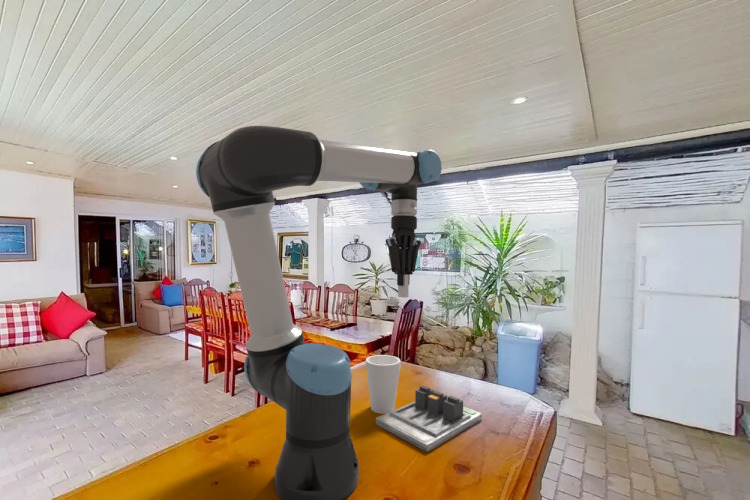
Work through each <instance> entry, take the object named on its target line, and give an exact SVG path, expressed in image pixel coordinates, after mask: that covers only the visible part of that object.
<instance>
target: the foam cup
mask: <svg viewBox="0 0 750 500" xmlns="http://www.w3.org/2000/svg"><path fill="white" fill-rule="evenodd" d="M401 364H402V362H401V358H399V357H397V356H393V355H388V354H378V355H372V356H368V357H366V359H365V371H366V377H367V385H368V387H367V388H368V395H369V403H370V404H369V405H370V410H371V411H372V412H374V413H377V414H382V415H384V414H387V413H389V412H390V411H393V410H395V405H396V399H397V392H398V391H397V390H398V385H399V379H400V378H399V377H400V372H401V368H402V367H401V366H402V365H401Z"/></svg>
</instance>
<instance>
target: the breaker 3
mask: <svg viewBox="0 0 750 500" xmlns="http://www.w3.org/2000/svg"><path fill="white" fill-rule="evenodd" d="M463 407H464V400H462V399H459V398H458V397H456V396H453V395H449V396H448V395H447V400H445V401H444V402H443V418H445V419H447V420H450V421H452V422H453V421H455V420H457V419H459V418H461V417H463Z"/></svg>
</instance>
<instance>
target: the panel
mask: <svg viewBox="0 0 750 500" xmlns="http://www.w3.org/2000/svg"><path fill="white" fill-rule="evenodd" d="M481 421H483V414H482V412H479V411H476V410H475V409H471V408H469V407H465V406H463V417H461V418H459V419H457V420H455V421H453V422H452V421H450V420H447V419H445V418H443V413H441V414H439V415H437V416H436V415H434V414H431V413H429V412H428V407H427V408H424V409H422V408H419V407H417V406H415V401H412V402H410V403H408V404H405V405H403V406H401V407H398V408H396V409H394V410H393V411H390V412H389V413H385V414H382V415H379V416H377V417H375V425H376V426H378V427H380V428H382V429H384V430H385V431H387V432H389V433H391V434H392V435H395V436H396V437H399V438H400V439H401V440H403V441H406V442H407V443H409V444H411V445H413V446H414V447H417V448H419V449H421V450H423V451H424V452H427V453H429V452H430V451H432V450H434V449H435V448H437V447H439V446H440V445H442V444H444V443H445V442H447V441H449V440H450V439H452V438H454V437H455V436H458V434H461V433H462V432H463V431H465V430H467V429H469V428H470V427H472V426H473V425H475V424H478V422H481Z"/></svg>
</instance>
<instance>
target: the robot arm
mask: <svg viewBox="0 0 750 500" xmlns="http://www.w3.org/2000/svg"><path fill="white" fill-rule="evenodd" d="M442 168H443V167H442V161H441V158H440V155H439V154H438V153H437V152H436V151H435V150H432V149H427V150H420V151H418V152H412V151H403V150H395V149H387V148H380V147H376V146H367V145H360V144H353V143H346V142H340V141H339V142H338V141H332V140H326V139H325V140H324V139H320V138H319V137H318V136H317V134H315V133H314V132H311V131H305V130H300V129H293V128H291V129H290V128H287V127H278V126H267V125H249V126H244V127H239V128H238V129H235V130H233V131H231V133H229V134H227V136H225V137H223V138H221V139H220V140H218V141H215V142H213V143H212V144H210V145H209V146H207V148H206V149H204V151H203V152H202V154H201V155H200V157H199V159H198V160H197V164H196V169H195V171H196V172H195V176H196V181H197V183H198V186H199V187H200V188H199V189H201V191H202V192H203V193H204V195H206V196H207V197H208V198H209V201H210V204H211V208H212V213H213V215H215V216H217V218H219V219H221V220H222V221H223V222H224V226H225V230H226V234H227V238H228V242H229V247H230V251H231V255H232V259H233V263H234V267H235V272H236V275H237V281H238V285H239V289H240V294H241V297H242V301H243V305H244V309H245V313H246V317H247V322H248V327H249V330H250V337H249V339H248V340H247V342H246V343H245V348H246V351H247V355H246V357H245V359H244V365H243V366H244V367H243V369H244V376H245V378H246V380H247V382H248V383H249V385H250V386H251V387H252V389H253V390H255V392H257V393H258V394H260V395H261V396H264V397H266V398H267V399H268V400H270V401H272V402H273V403H274V404H276V405H278V406H280V407H281V408H282V409H284V410H285V412H286V413H285V440H284V442H283V445H282V449H281V452H280V454H279V458H278V462H277V464H276V467H275V472H274V488H275V489H274V490H275V492H276V494H277V496H278V497H279V498H280V499H281V500H345V498H347V497H349V495H350V494H352V492H354V490H355V489H356V487H357V485H358V483H359V476H360V473H359V472H360V471H359V469H360V466H359V460H358V457H357V454H356V450H355V448H354V444H353V440H352V438H351V425H350V424H351V400H352V397H351V395H352V378H353V377H352V371H351V370H352V369H351V359H350V358H349V355H348V354H347V353H346V352H345V351H344V350H343V349H341V348H339V347H337V346H334V345H332V344H331V345H330V344H323V343H320V342H319V343H318V342H317V343H316V342H315V343H314V342H312V343H306V342H305V338H304V333H303V330H302V328H301V327H300V326H298V325H296V324H294V322H293V317H292V312H291V308H290V304H289V303H290V302H289V300H288V299H289V298H288V295H287V290H286V286H285V285H286V284H285V282H284V281H285V280H284V276H283V271H282V267H281V266H282V265H281V262H280V258H279V253H278V249H277V243H276V239H275V235H274V230H273V224H272V221H271V216H270V213H271V211H272V209H273V207H274V206H275V205H276V203H275V202H276V201H275V198H274V193H273V192H275V191H277V190H278V191H279V190H283V189H287V188H292V187H311V186H314V185H315V184H316V183H317V182H337V183H338V182H339V183H341V182H346V183H359V184H360V186H362V187H363V188H364V189H367V190H370V191H376V192H381V193H388V194H390V195H391V199H390V200H391V205H390V206H391V207H390V209H391V210H390V211H391V212H390V214H391V215H392V216H391V218H390V225H391V226H390V228H391V229H392V233H391V237H390V238H386V239H385V243H386V246H387V249H388V250H387V251H388V255H389V256H388V257H389V261H390V267H391V272H392V273H394V275H396V277H397V278H396V280H397V281H396V285H397V297H399V298H404V299H405V298H409V286H410V275H413V273H415V271H416V268H417V267H416V265H417V260H418V254H419V249H420V246H421V243H422V242H421V240H420V239H419V240H418V239H417V238H416V234H415V231H416V230H417V228H418V218H417V214H418V185H422V184H425V185H426V184H428V183H432V182H435V181H437V180H438V179H439V178H440V176H441V175H442V170H443V169H442Z"/></svg>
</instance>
